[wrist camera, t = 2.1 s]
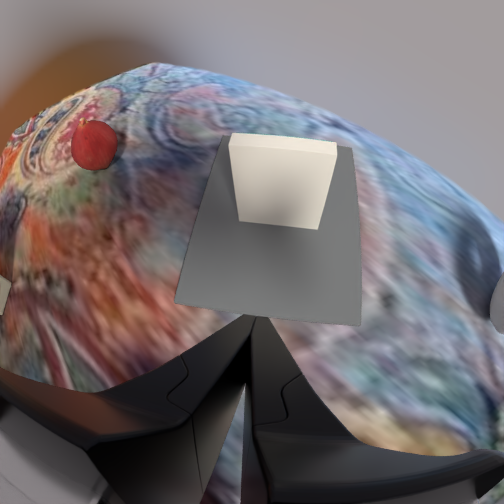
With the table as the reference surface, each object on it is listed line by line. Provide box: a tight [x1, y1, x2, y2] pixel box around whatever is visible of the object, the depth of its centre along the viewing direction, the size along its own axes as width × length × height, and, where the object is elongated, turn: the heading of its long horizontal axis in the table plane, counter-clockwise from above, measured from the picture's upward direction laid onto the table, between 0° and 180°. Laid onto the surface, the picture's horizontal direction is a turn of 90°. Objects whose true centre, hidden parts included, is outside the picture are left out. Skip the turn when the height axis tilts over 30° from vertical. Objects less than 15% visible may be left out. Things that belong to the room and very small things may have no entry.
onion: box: [71, 117, 118, 170], centre depth 27 cm, size 6×6×8 cm
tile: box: [228, 133, 337, 230], centre depth 21 cm, size 2×7×9 cm, turn 82°
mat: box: [174, 136, 362, 326], centre depth 26 cm, size 20×15×1 cm
